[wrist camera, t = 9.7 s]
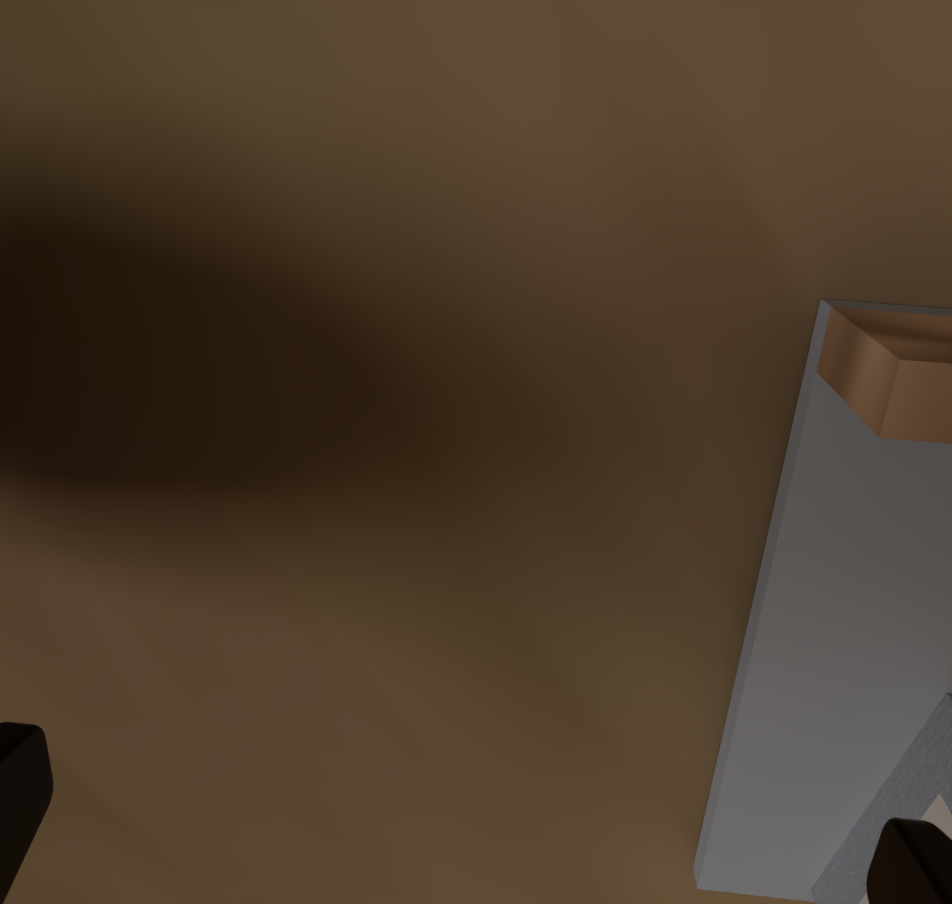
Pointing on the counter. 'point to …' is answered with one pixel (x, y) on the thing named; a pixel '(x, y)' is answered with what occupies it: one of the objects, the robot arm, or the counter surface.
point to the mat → (832, 642)
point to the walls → (892, 371)
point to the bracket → (896, 808)
